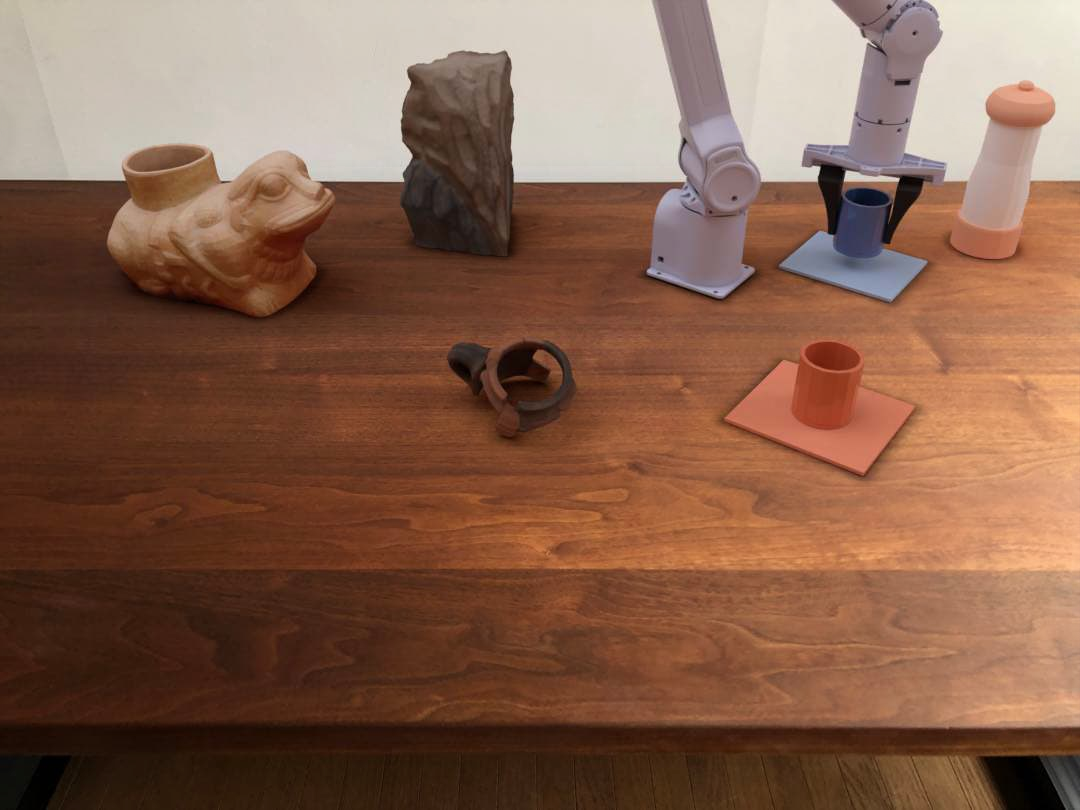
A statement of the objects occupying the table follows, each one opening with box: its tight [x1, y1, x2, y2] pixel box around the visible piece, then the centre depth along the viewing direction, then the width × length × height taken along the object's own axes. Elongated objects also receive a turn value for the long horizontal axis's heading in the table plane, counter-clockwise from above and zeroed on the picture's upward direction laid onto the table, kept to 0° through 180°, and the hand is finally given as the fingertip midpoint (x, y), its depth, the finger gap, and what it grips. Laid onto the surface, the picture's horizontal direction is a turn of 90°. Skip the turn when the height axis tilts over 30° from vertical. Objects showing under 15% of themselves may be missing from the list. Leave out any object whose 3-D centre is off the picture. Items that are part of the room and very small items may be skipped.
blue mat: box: [778, 230, 929, 304], centre depth 118 cm, size 13×11×1 cm
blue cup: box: [833, 186, 895, 258], centre depth 115 cm, size 5×5×6 cm
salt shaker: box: [949, 79, 1056, 260], centre depth 117 cm, size 7×7×19 cm
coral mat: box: [723, 359, 916, 477], centre depth 95 cm, size 13×12×1 cm
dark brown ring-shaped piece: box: [446, 335, 579, 438], centre depth 94 cm, size 12×10×8 cm
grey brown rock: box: [399, 49, 515, 257], centre depth 120 cm, size 13×13×20 cm
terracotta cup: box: [791, 338, 866, 430], centre depth 93 cm, size 5×5×6 cm
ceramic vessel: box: [106, 142, 336, 318], centre depth 110 cm, size 14×26×15 cm, turn 71°
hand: (859, 235), depth 116 cm, fingers closed on blue cup, 5 cm apart
